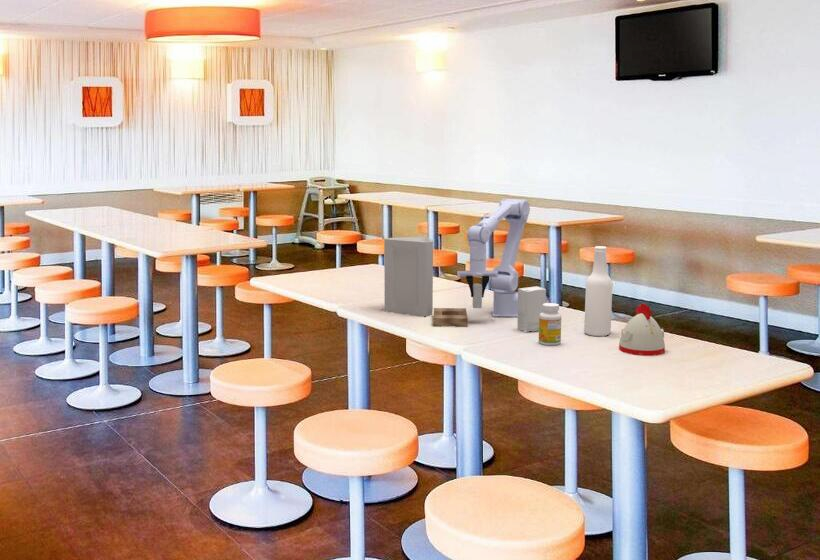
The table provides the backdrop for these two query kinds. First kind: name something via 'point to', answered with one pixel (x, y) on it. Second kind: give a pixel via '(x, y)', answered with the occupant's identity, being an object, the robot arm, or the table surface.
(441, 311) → the well block
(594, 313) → the alcohol
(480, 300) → the brushed metal block
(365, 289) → the table surface
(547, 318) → the supplement bottle
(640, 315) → the kitchen timer
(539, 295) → the skincare box
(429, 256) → the tall grey carton
